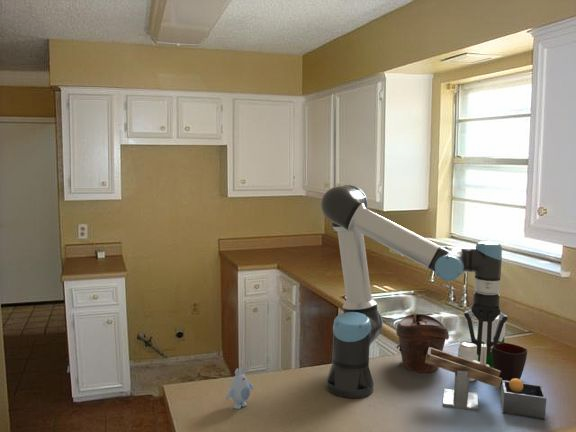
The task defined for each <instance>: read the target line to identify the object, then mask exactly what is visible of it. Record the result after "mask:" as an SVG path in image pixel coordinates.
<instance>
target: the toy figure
mask: <svg viewBox="0 0 576 432" xmlns="http://www.w3.org/2000/svg"><path fill="white" fill-rule="evenodd" d="M245 372H246V367H245V366H242V367H241V371H240V369H239V368H236V369H235V371H234V377H233V379H232V381H231V383H230V385H229V391H227V393H226V394H225V399H226V400H229V398H231V399H232V401H233V402H234V403H235V404H234V405H233V406H234V409H235V410H239V409H241V408H243V407H246V406H247V402H246V401H247V400H248V399H249V397H250V395H251V390H253V389H254V384H253V383H251V382H249V380H248V377H247V376H246V374H245Z"/></svg>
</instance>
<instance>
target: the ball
mask: <svg viewBox="0 0 576 432" xmlns="http://www.w3.org/2000/svg"><path fill="white" fill-rule="evenodd" d="M523 383H524V382H523V381H522V380H521V379H520V380H519V379H517V378H514V379H511V380H510V382H509V387H510V389H511V390H512V391H513V392H520V391H522V390H523Z"/></svg>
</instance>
